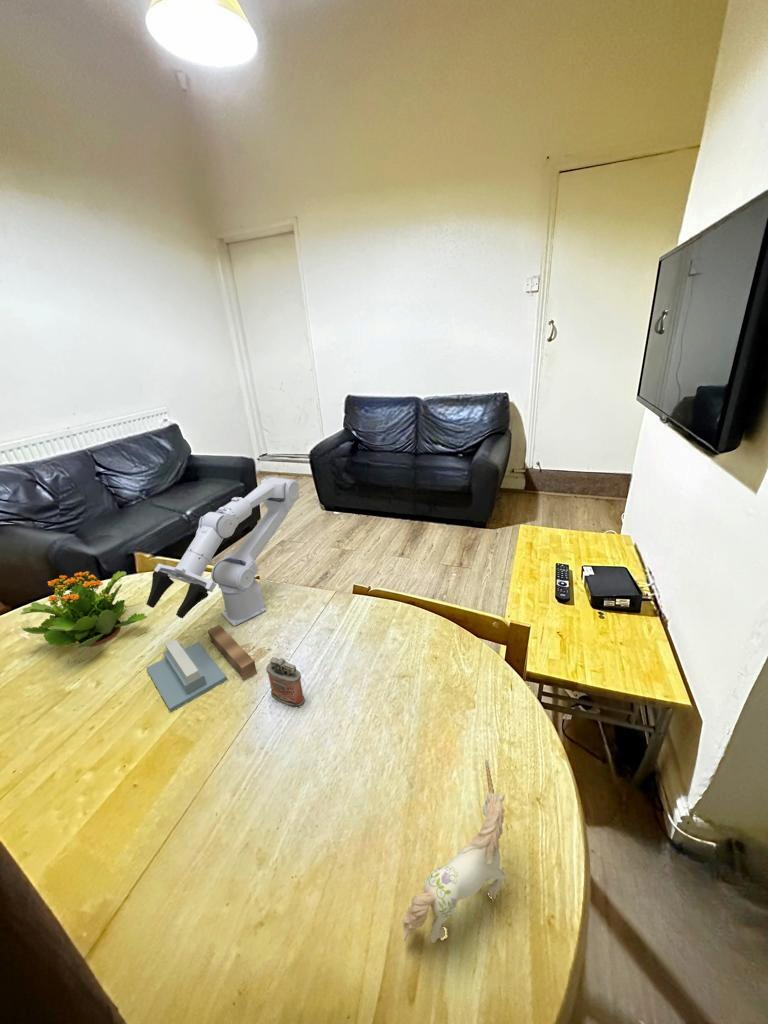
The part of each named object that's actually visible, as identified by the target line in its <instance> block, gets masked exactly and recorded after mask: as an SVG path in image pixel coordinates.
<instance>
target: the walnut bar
mask: <svg viewBox="0 0 768 1024" xmlns="http://www.w3.org/2000/svg"><path fill="white" fill-rule="evenodd" d="M206 631H207V634H208V637H209V642H210V643H211V644H212V646H213V645H214V646H213V647H214V648H215V649H216V651H218V652H219V653H220V655H221V656H222V657H223V658H224V659H225V660H226V661H227V662H228V664H229V665H230V666H231V667H232V668H233V669H234V671H235V672H236V673H237V674H238V675H239V676H240V677H241V678H242V679H243V680H244V681H247V680H248V679H250V678H252V677H254V676H256V675H257V674H258V671H257V667H256V661H255V659H254V658H252V657H251V656H250V655H249V654H248V653H247V652H246V650H244V649H243V647H242V646H241V645H239V643H237V641H236V640H235V639H234V638H233V636H231V635H230V634H229V633H228V632H227V631H226V630H225V628H223V627H222V626H221V625H220V624H218V625H215V626H213V627H211V628H209V629H207V630H206Z"/></svg>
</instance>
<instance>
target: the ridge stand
mask: <svg viewBox="0 0 768 1024" xmlns="http://www.w3.org/2000/svg"><path fill="white" fill-rule="evenodd" d="M164 646H165V649H166V650H165V651H163V655H164V658H163V659H161V660H159V661H156V662H154V663H153V664H151V665H148V666H147V667H145V668H146V671H147V673H148V674H149V676H150V678H151V680H152V681H153V684H154V685H155V687H156V688H157V689H156V690H158V693H159V694H160V696H161V698H162V700H163V701H164V703H165V705H166V706H167V709H168V710H169V712H170V713H172V712H174V711H176V710H178V709H179V708H181V707H183V706H185V705H187V704H188V703H189V702H192V701H193V700H195V699H197V698H198V697H200V696H202V695H203V694H205V693H207V692H209V691H210V690H212V689H214V688H216V687H217V686H219V685H221V684H223V683H224V682H226V681H228V678H227V675H226V674H225V673H224V671H223V670H222V669H221V668H220V667H219V665H218V664H217V663H216V661H215V660H214V659H213V658H212V657H211V655H210V653H208V651H207V650H206V649H205V647H204V646H203V645H202V644H201V643H200V641H197V642H194V643H193V644H191V645H189V646H187V647H185V646H183V644H182V643H179V641H178V640H177V639H176V638H174V639H172V640H170V641H168V642H165V643H164Z"/></svg>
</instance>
